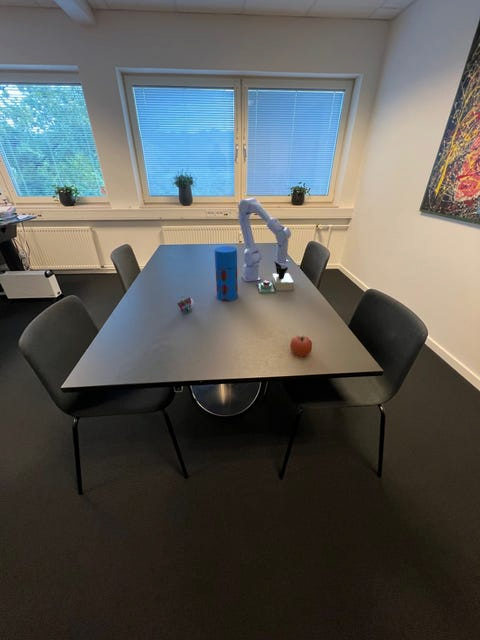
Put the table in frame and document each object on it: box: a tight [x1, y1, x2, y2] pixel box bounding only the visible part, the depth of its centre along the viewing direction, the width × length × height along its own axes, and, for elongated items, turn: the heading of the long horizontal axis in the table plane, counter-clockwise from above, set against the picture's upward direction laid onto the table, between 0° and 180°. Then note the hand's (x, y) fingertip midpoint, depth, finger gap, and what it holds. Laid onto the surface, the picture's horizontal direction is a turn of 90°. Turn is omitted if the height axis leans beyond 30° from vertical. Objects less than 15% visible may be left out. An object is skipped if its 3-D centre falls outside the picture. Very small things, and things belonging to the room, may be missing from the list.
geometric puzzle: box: [177, 296, 195, 312], centre depth 121 cm, size 7×7×8 cm
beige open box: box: [272, 276, 295, 291], centre depth 146 cm, size 9×13×4 cm
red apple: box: [289, 335, 313, 357], centre depth 93 cm, size 8×8×7 cm
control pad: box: [257, 281, 276, 294], centre depth 143 cm, size 8×11×3 cm
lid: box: [272, 272, 295, 284], centre depth 144 cm, size 10×13×4 cm
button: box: [262, 279, 270, 285], centre depth 142 cm, size 3×3×2 cm
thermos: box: [214, 245, 239, 302], centre depth 129 cm, size 11×11×25 cm
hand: (279, 276), depth 144 cm, fingers open, 7 cm apart
